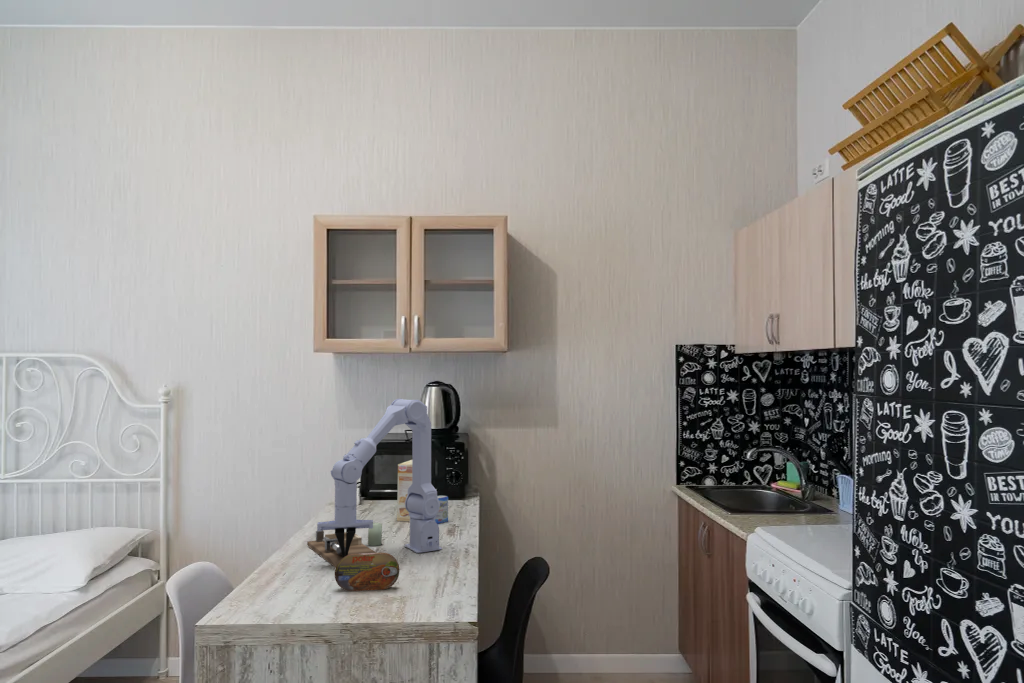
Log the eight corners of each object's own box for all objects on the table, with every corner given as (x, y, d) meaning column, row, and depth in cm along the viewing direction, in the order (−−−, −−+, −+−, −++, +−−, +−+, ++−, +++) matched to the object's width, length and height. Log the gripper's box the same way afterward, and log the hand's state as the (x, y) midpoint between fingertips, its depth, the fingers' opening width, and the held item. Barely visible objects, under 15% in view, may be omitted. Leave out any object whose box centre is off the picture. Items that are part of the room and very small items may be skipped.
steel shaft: (347, 556, 189) (347, 546, 189) (338, 557, 187) (338, 547, 187) (329, 543, 202) (329, 534, 202) (320, 544, 200) (321, 535, 201)
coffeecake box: (415, 522, 237) (416, 464, 238) (396, 521, 239) (396, 464, 240) (429, 513, 252) (430, 459, 253) (410, 512, 254) (411, 458, 254)
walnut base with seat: (385, 562, 188) (385, 550, 188) (338, 569, 181) (338, 557, 181) (350, 540, 212) (350, 529, 212) (307, 545, 205) (307, 534, 206)
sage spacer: (383, 544, 207) (384, 524, 207) (371, 546, 204) (372, 525, 205) (378, 542, 210) (378, 522, 210) (365, 543, 207) (366, 523, 208)
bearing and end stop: (342, 550, 195) (342, 538, 195) (326, 552, 193) (326, 540, 193) (326, 539, 207) (326, 528, 208) (311, 541, 205) (311, 530, 205)
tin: (334, 592, 163) (334, 555, 163) (335, 587, 166) (336, 552, 166) (399, 589, 165) (399, 553, 165) (399, 585, 168) (399, 550, 168)
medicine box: (432, 525, 232) (432, 499, 233) (422, 523, 235) (423, 498, 235) (448, 521, 239) (448, 496, 239) (439, 520, 241) (439, 494, 242)
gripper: (372, 501, 193) (372, 551, 192) (318, 503, 189) (317, 554, 189) (373, 506, 186) (372, 557, 185) (317, 508, 182) (316, 561, 182)
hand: (344, 556), depth 186 cm, fingers closed
